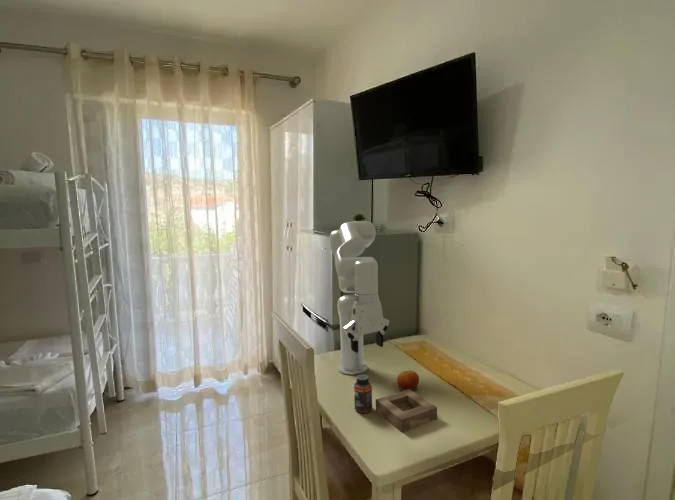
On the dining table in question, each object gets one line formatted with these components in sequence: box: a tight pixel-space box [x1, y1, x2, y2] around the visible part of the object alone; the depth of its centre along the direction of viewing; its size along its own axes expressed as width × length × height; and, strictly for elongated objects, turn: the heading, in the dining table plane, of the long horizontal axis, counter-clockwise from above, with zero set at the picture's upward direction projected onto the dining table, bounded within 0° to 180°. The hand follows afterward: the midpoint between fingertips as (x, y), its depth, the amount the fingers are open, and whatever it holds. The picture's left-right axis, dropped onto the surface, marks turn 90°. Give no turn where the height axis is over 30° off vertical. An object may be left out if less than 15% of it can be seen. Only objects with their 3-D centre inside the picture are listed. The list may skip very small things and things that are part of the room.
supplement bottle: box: [353, 374, 373, 414], centre depth 126 cm, size 6×6×11 cm
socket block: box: [375, 389, 438, 433], centre depth 123 cm, size 14×14×4 cm
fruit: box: [396, 370, 420, 392], centre depth 140 cm, size 8×8×8 cm
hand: (367, 348), depth 125 cm, fingers open, 9 cm apart
